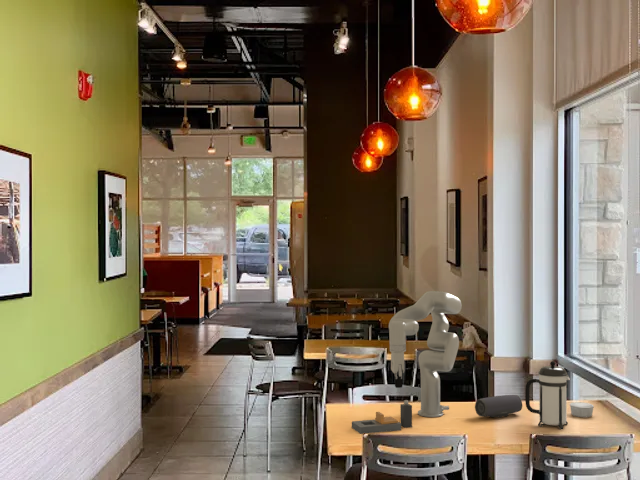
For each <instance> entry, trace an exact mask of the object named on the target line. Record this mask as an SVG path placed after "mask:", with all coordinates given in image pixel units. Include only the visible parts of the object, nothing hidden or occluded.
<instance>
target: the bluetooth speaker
mask: <svg viewBox="0 0 640 480" xmlns="http://www.w3.org/2000/svg"><path fill="white" fill-rule="evenodd" d="M522 409H523V401H522V399H521V397H520V396H519V395H517V394H505V395H495V396H489V397H488V396H487V397H483V398H478V399H477V400H476V401H475V403H474V410H475V412H476V415H478V417H483V418H484V417H489V418H490V417H498V418H503V417H502V416H505V417H509V415H512V414H515V413H519V412H521V410H522Z"/></svg>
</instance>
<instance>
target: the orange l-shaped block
mask: <svg viewBox="0 0 640 480" xmlns="http://www.w3.org/2000/svg"><path fill="white" fill-rule="evenodd" d="M374 419H375V420H376V421H377V422H379V423H381V424H390V423H398V422H399V420H398V419H396V418H394V417H392V416H385V414H383V413H382V412H381V411H375V418H374Z"/></svg>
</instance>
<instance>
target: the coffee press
mask: <svg viewBox="0 0 640 480" xmlns="http://www.w3.org/2000/svg"><path fill="white" fill-rule="evenodd" d="M555 365H556V362H555V361H550V363H549V365H546V366H542V367H540V369H539V370H538V378H539V379H538V378H531V379H530V380H528V381H527V382H526V383H525V394H524V395H525V398H524V399H525V407H526V409H527V410H528V411H529V412H530V413H533V414H538V415H539V422H538V423H537V424H538V427H540V428H542V427H543V426H544V425H548V426H549V425H550V426H557V427H558V429H559V430H561V431H562V430H564V425H565V426H567V425H568V424H569V422H568V421H567V418H568V417H567V414H568V413H567V411H568V410H567V407H568V406H567V385H568V381H571V378H570V377H569V375H568V372H567V370H566V369H565V368H563V367H561V366H559V365H558V366H555ZM535 383H538V385H539V386H538V387H539V388H538V389H539V390H538V391H539V394H538V395H539V398H538V399H539V400H538V401H539V403H538V405H539V409H535V408H532V406H531V404H530V401H531V400H530V395H531V394H530V391H531V390H530V388H531V384H535Z"/></svg>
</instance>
